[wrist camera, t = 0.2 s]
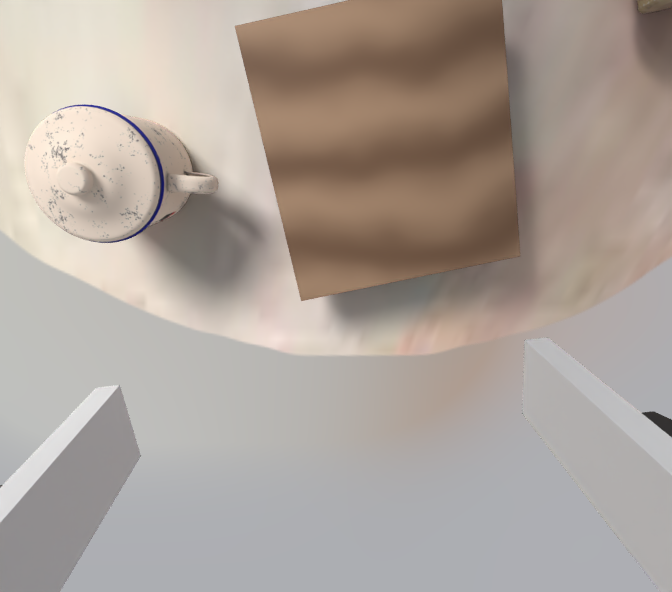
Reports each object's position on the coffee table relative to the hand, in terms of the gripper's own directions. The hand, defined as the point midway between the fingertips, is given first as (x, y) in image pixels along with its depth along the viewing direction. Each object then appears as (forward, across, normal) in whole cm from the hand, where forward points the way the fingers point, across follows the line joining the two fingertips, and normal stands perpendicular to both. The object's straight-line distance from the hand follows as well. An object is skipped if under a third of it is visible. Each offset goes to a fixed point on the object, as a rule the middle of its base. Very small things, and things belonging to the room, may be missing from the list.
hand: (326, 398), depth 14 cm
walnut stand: (+27, +6, +7) cm, 29 cm away
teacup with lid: (+28, -13, +7) cm, 31 cm away
